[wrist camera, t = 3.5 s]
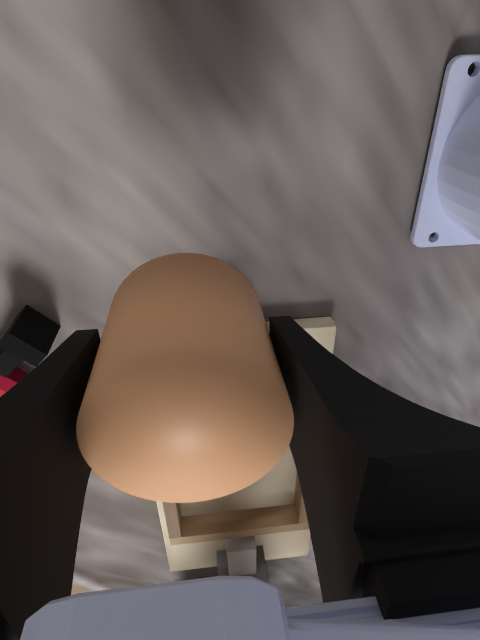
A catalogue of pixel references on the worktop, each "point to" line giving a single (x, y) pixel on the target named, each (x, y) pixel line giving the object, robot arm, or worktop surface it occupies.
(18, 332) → the red board with handle
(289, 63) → the worktop surface
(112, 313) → the brown egg
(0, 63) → the worktop surface
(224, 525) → the shaft mount
